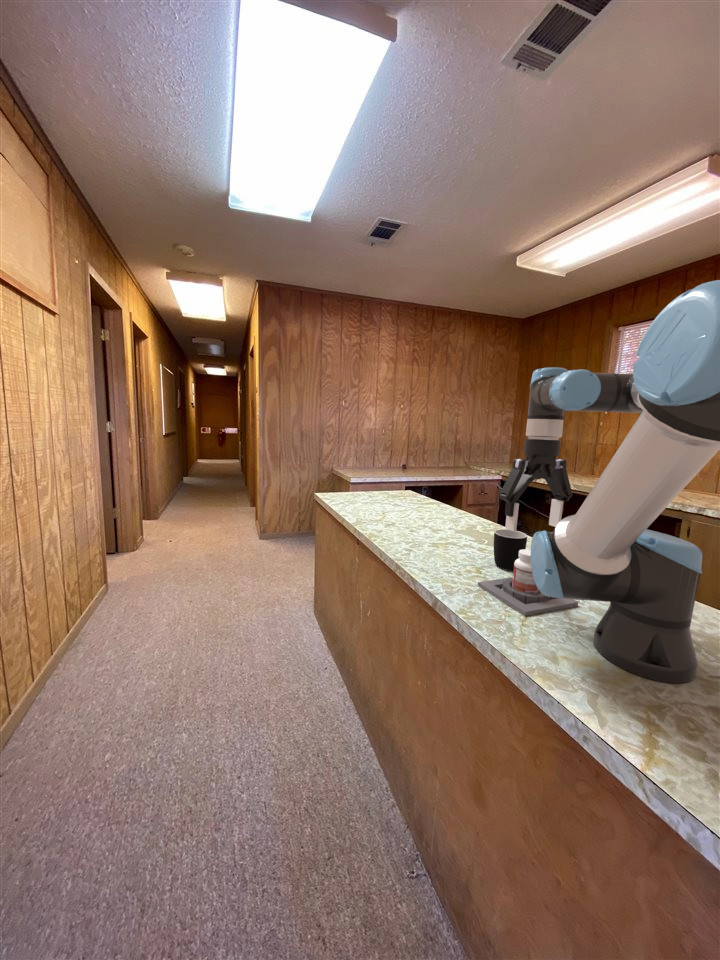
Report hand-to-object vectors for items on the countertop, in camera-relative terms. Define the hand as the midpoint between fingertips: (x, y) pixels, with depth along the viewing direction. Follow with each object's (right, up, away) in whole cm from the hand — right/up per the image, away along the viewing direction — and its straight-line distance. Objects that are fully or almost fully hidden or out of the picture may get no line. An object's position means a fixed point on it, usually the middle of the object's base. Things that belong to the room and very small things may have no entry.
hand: (533, 528), depth 90 cm
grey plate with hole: (-1, -17, +3) cm, 17 cm away
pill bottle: (-1, -17, +3) cm, 17 cm away
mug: (+2, -14, +23) cm, 27 cm away
